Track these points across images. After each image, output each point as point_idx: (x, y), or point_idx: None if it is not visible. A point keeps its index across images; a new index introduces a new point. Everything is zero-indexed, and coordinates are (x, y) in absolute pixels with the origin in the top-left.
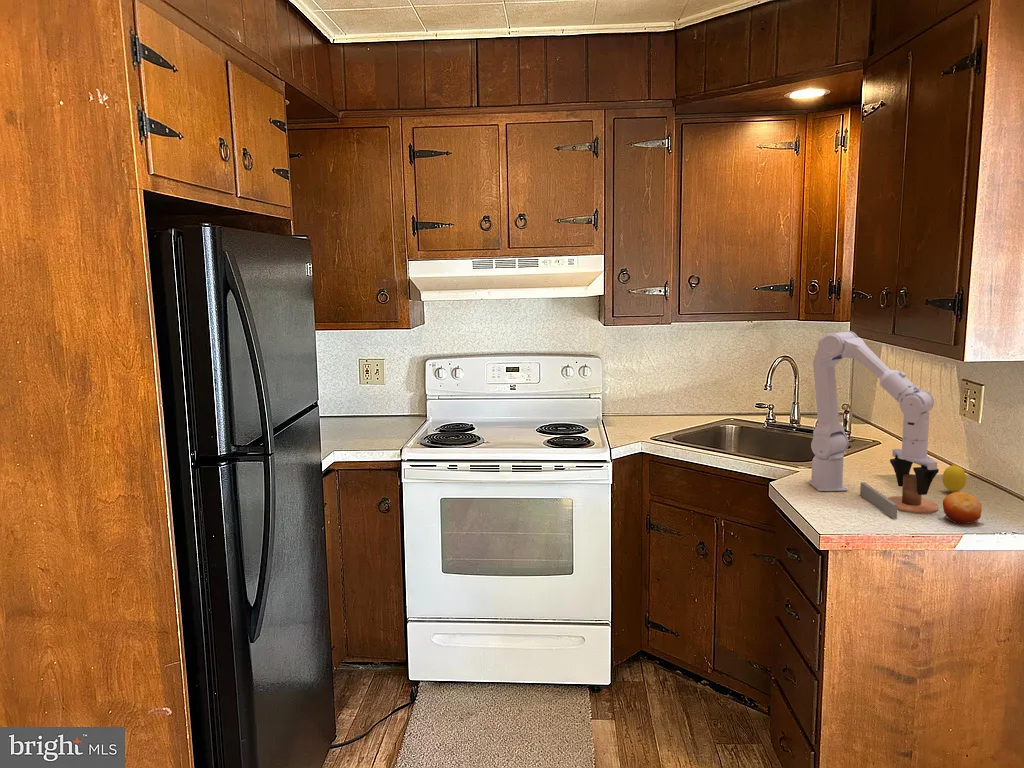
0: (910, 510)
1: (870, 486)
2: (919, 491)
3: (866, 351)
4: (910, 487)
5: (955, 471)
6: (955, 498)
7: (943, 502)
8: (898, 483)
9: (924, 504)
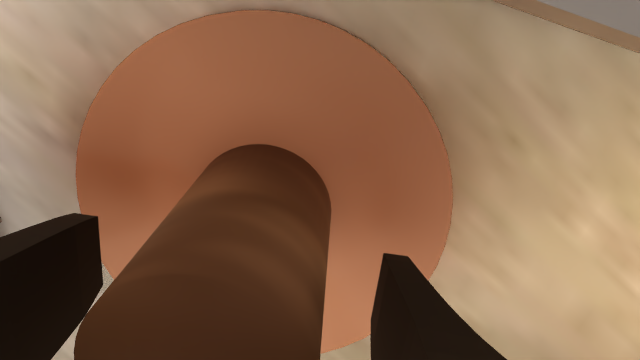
0: (113, 74)
1: (610, 25)
2: (42, 223)
3: None
4: (159, 226)
5: None
6: None
7: None
8: (399, 262)
9: None
